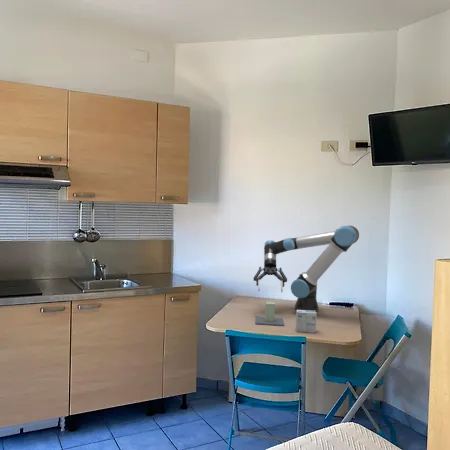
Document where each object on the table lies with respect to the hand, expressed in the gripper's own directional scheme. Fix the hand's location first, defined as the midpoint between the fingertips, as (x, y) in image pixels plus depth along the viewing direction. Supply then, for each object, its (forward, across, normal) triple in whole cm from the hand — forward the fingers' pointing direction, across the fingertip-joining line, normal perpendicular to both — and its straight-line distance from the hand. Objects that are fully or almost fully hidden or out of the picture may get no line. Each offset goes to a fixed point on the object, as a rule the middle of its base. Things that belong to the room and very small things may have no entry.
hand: (270, 290), depth 277 cm
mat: (+19, 0, -4) cm, 19 cm away
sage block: (+18, 0, -3) cm, 19 cm away
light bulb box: (+30, -18, +7) cm, 36 cm away
